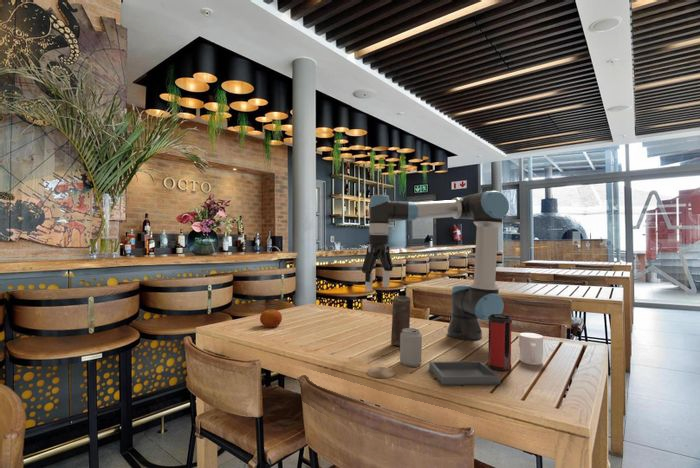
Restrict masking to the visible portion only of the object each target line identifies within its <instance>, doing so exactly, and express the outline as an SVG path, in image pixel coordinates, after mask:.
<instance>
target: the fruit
mask: <svg viewBox="0 0 700 468" xmlns="http://www.w3.org/2000/svg"><path fill="white" fill-rule="evenodd" d="M259 320H260V321H259V322H260V323H261V325H262V326H263V327H266V328H276V327H278V326H279V325H281V322H282V320H283V315H282V313H281V312H280V311H279V310H277V309H266V310H264V311H262V312H261V313H260V316H259Z"/></svg>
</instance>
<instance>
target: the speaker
mask: <svg viewBox="0 0 700 468" xmlns="http://www.w3.org/2000/svg"><path fill="white" fill-rule="evenodd" d="M488 320H489V321H488V345H487V346H488V348H487V349H488V351H487V352H488V353H487V363H486V364H487V365H486V366H488V367H489V368H490V369H491V370H493V371H494V370H495V371H498V372H509V371H510V370H512V364H511V363H512V323H513V318H511V317H510V316H509V315H507V314H502V313H501V314H492V315H490V316H489V317H488Z"/></svg>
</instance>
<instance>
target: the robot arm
mask: <svg viewBox="0 0 700 468" xmlns="http://www.w3.org/2000/svg"><path fill="white" fill-rule="evenodd" d="M509 203H510V202H509V200H508V198H507V197H506V195H505V194H504V193H502V192H500V191H498V190H490V191H489V190H487V191H483V192H478V193H473V194H470V195H469V194H468V195H466V196H461V197H454V198H452V199H451V200H450V199H449V200H436V201H435V200H434V201H433V200H432V201H421V202H419V201H418V202H415V201H400V200H398V201H397V200H390V196H389V195H388V194H386V195H385V194H373V195H371V196H370V199H369V226H368V229H369V230H368V231H369V237H368V244H369V245H371V246H367V247H366V253H365V256H364V261H363V265H362V267H361V272H362V274H365V275H364V276H365V278H364V279H365V280H364V281H365V282H364V283H365V284H364V285H365V286H364V289H365V290H364V291H368V292H369V291H370V292H373V281H374V280H373V273H372V272H373V270H374V267H375V265H376V262H377V260H380V263H381V265H382V268H383V270H382V288H390V279H391V276H390V275H391V272H392V271H393V267H394V266H393V262H392V257H391V252H390V247H389V246H387V245H388V244H389V236H388V234H389V223H391V222H400V221H401V222H403V221H408V222H409V221H415V220H427V219H442V218H443V219H444V218H453V219H454V220H455V219H456V220H458V219H460V220H462V219H463V220H472V221H473V224H474V225H475V226H476V233H475V234H476V236H475V237H476V238H475V254H474V272H473V283H471V284H470V285H453V286H452V289H451V318H450V321H449V323H448V327H447V336H449V337H451V338H454V339H458V340H467V341H468V340H469V341H471V340H472V341H473V340H481V339H482V337H483V330H482V328H481V325H480V322H479V320H481V321H487V322H489V320H488V317H489V316H490V315H492V314H502V313H503V311H504V308H505V307H504V306H505V305H504V300H503V299H502V297H501V296H500V295H499V291H500V290H499V287H498V286H497V284H496V276H497V273H496V272H497V254H498V236H499V228H500V226H501V225H503V220H504V219H503V218H504V217H506V215H507V214H508V213H509V210H510V204H509Z"/></svg>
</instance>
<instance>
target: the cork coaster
mask: <svg viewBox="0 0 700 468" xmlns="http://www.w3.org/2000/svg"><path fill="white" fill-rule="evenodd" d="M395 373H396V371H395V370H394V369H393V368H391V367H386V366H374V367H373V366H372V367H370V368H368V369H367V371H366V374H367V375H368V376H369V377H373V378H376V379H390V378H393V377H394V376H395Z"/></svg>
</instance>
